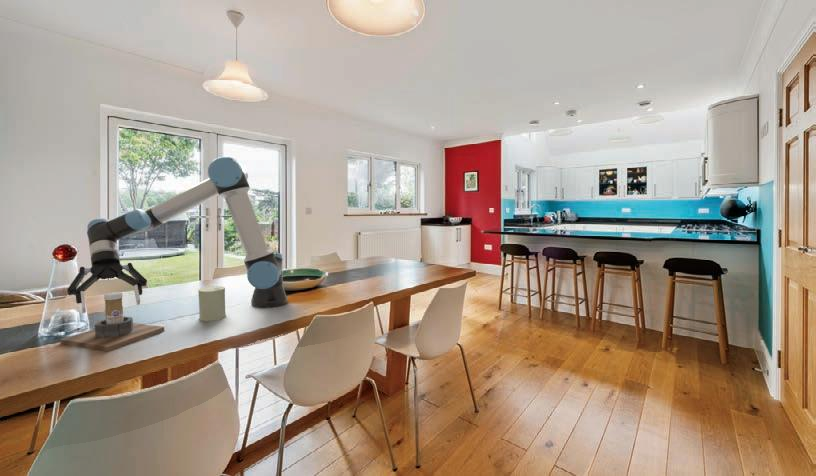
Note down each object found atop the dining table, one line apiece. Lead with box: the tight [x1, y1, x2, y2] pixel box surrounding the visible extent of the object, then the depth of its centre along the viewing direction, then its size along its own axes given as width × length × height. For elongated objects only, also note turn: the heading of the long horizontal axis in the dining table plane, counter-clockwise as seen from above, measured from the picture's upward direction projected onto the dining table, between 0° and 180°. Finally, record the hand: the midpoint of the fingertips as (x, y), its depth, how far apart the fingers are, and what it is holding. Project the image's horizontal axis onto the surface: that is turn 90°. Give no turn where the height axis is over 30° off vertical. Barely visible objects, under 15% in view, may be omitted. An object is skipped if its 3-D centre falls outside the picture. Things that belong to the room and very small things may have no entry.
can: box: [198, 285, 227, 322], centre depth 135 cm, size 9×9×12 cm
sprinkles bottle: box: [103, 291, 124, 325], centre depth 113 cm, size 5×5×14 cm
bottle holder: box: [59, 315, 165, 352], centre depth 113 cm, size 20×18×6 cm
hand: (112, 306), depth 112 cm, fingers open, 13 cm apart
